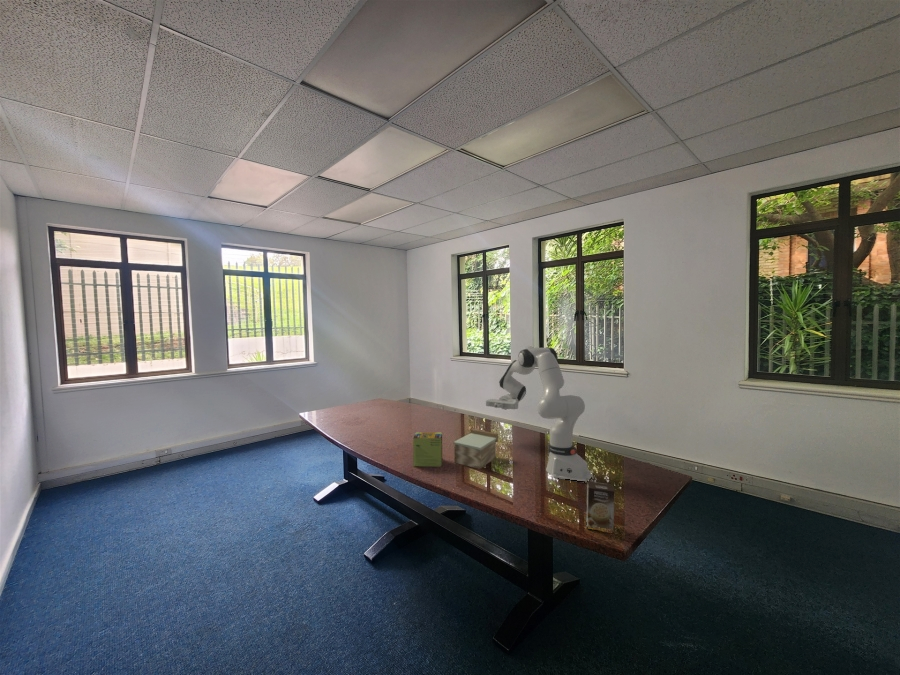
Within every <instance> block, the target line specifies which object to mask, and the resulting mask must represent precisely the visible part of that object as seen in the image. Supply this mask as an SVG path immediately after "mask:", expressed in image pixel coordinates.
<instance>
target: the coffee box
mask: <svg viewBox="0 0 900 675" xmlns="http://www.w3.org/2000/svg"><path fill="white" fill-rule="evenodd" d="M586 487H587V488H586V489H587V490H586V517H585V518H586V519H585V520H586V521H585V522H587V525H586V527H587V526H589V527H600V528H606V529H612V530H613V531H614V521H615V520H614V519H615V518H614V515H615V513H614V512H615V487H614V486H613V484H612V483H606V482H601V481H599V482H597V481H592V480H590V481H588V482H587V486H586Z"/></svg>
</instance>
